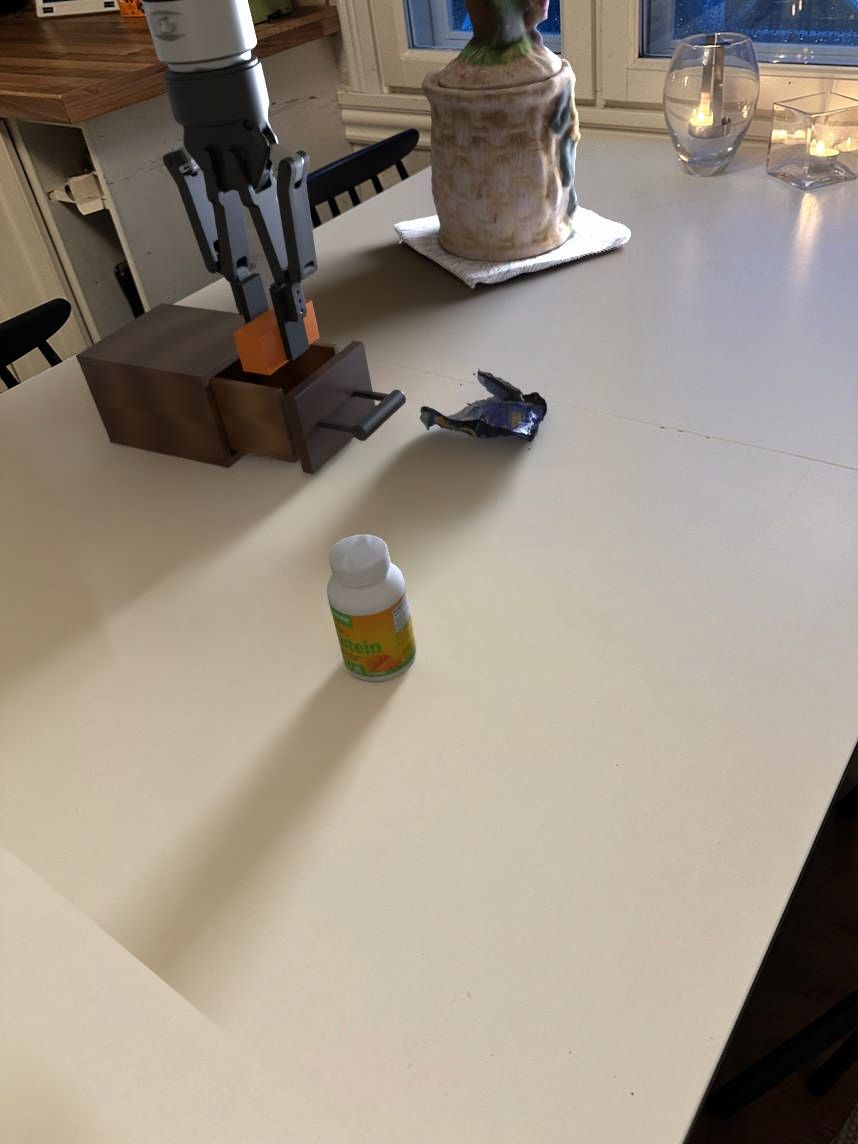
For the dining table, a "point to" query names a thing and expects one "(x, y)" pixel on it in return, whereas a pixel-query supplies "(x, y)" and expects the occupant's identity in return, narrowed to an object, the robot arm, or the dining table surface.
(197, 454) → the cabinet
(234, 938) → the dining table surface
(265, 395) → the drawer
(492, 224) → the cookie jar
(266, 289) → the salt shaker
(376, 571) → the supplement bottle
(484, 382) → the snack package
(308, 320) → the taped cardboard carton
